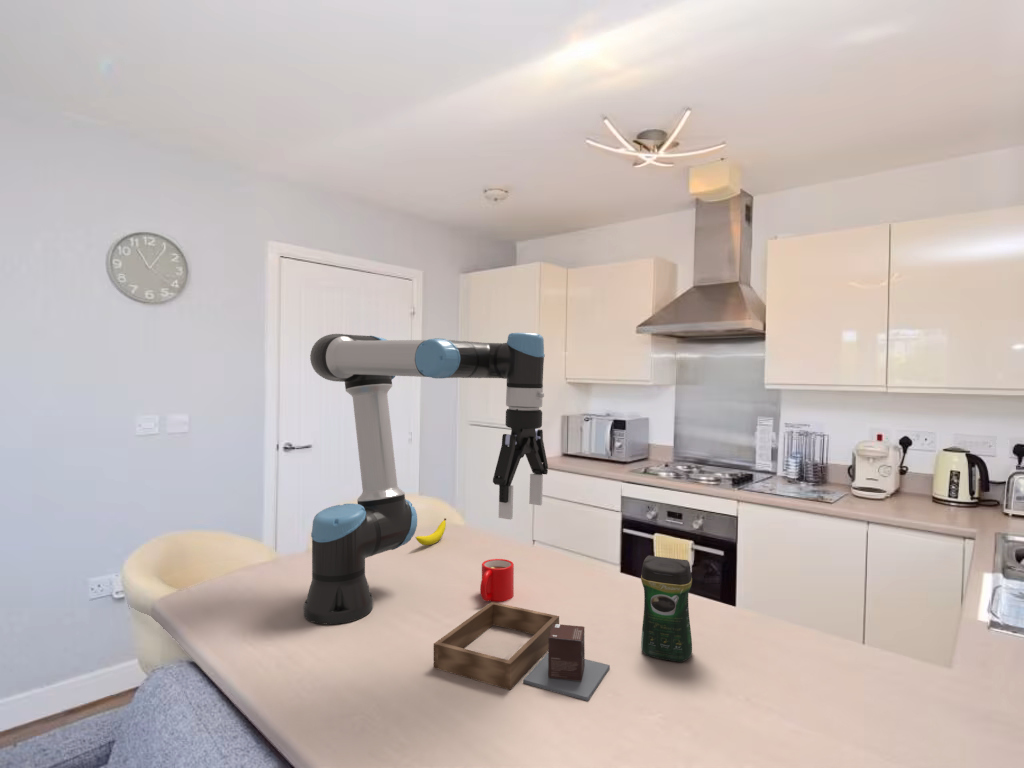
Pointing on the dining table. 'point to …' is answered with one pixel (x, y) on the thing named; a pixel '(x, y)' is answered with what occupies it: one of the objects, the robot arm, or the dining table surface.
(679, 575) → the coffee jar
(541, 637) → the walnut crate
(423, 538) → the banana
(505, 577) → the mug
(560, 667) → the box
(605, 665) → the slate mat
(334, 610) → the robot arm
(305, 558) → the dining table surface
